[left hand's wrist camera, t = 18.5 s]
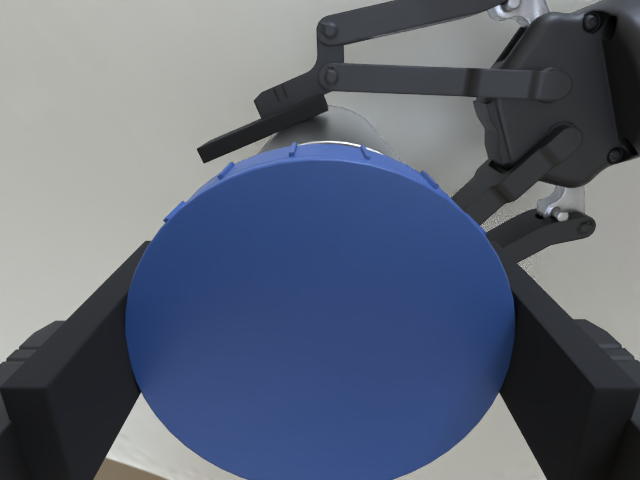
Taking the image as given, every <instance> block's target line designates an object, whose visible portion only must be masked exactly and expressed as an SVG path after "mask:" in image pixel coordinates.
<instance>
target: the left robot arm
mask: <svg viewBox="0 0 640 480" xmlns="http://www.w3.org/2000/svg"><path fill="white" fill-rule="evenodd" d="M150 242H151V241H145V242H144V243H143V244H142V245H141V246H140V247H139V248H138V249H137V250H136V251H135V252H134V253H133V254H132V255H131V256H130V257H129V258H128V259H127V260H126V261H125V262H124V263H123V264H122V265H121V266H120V267H119V268H118V269H117V270H116V271H115V272H114V273H113V274H112V275H111V276H110V277H109V278H108V279H107V280H106V281H105V282H104V283H103V284H102V285H101V286H100V287H99V288H98V289H97V290H96V291H95V292H94V293H93V294H92V295H91V296H90V297H89V298H88V299H87V300H86V301H85V302H84V303H83V304H82V305H81V306H80V307H79V308H78V309H77V310H76V311H75V312H74V313H73V314H72V315H71V316H70V317H69V318H68V319H67V320H66V321H54V322H53V323H51V324H49V325H47V326H45V327H44V328H42V329H40V330H38V331H37V332H35V333H33V334H32V335H31V336H30V337H29V338H28V339H27V340H26V341H25V342H24V343H23V344H22V345H21V346H20V347H19V350H15V351H14V352H13V353H12V354H11V355H10V356H9V357H8V358H7V360H6V362H2V363H1V364H0V480H93V479H94V477H95V475H96V473H97V472H98V470H99V468H100V466H101V464H102V462H103V461H104V459H105V457H106V455H107V453H108V452H109V450H110V448H111V446H112V444H113V442H114V441H115V439H116V437H117V435H118V433H119V431H120V430H121V428H122V426H123V424H124V422H125V421H126V419H127V417H128V415H129V413H130V411H131V410H132V408H133V406H134V404H135V402H136V400H137V399H138V397H139V395H140V393H141V390H140V388H139V386H138V384H137V382H136V380H135V377H134V374H133V371H132V368H131V363H130V358H129V353H128V347H127V342H126V336H125V311H126V304H127V298H128V292H129V288H130V285H131V282H132V279H133V276H134V273H135V270H136V268H137V266H138V264H139V262H140V260H141V258H142V256H143V254H144V252H145V250H146V248H147V247H148V245H149V244H150ZM489 242H490V244H491V245H492V247H493V249H494V250H495V252H496V253H497V255H498V257H499V259H500V261H501V264H502V266H503V268H504V270H505V273H506V275H507V277H508V281H509V285H510V289H511V292H512V296H513V300H514V311H515V321H516V324H515V338H514V344H513V350H512V355H511V360H510V365H509V369H508V372H507V374H506V377H505V380H504V382H503V385H502V387H501V389H500V391H499V393H500V395H501V396H502V398H503V400H504V402H505V404H506V405H507V407H508V409H509V411H510V413H511V415H512V416H513V418H514V420H515V422H516V424H517V426H518V427H519V429H520V431H521V433H522V435H523V436H524V438H525V440H526V442H527V444H528V446H529V447H530V449H531V451H532V453H533V455H534V457H535V458H536V460H537V462H538V464H539V466H540V467H541V469H542V471H543V473H544V475H545V477H546V478H547V480H640V362H639V361H638V360H635V359H634V356H633V355H632V354H630V353H629V352H628V351H627V350H626V349H625V348H622V345H621V344H620V343H619V342H618V341H616V340H615V339H614V338H613V337H612V336H611V335H610V334H609V333H608V332H607V331H605V330H603V329H601V328H600V327H598V326H596V325H594V324H592V323H591V322H589V321H587V320H585V319H572V318H571V317H570V316H569V315H568V314H567V313H566V312H565V311H564V310H563V309H562V308H561V307H560V306H559V305H558V304H557V303H556V302H555V301H554V300H553V299H552V298H551V297H550V296H549V295H548V294H547V293H546V292H545V291H544V290H543V289H542V288H541V287H540V286H539V285H538V284H537V283H536V282H535V281H534V280H533V279H532V278H531V277H530V276H529V275H528V274H527V273H526V272H525V271H524V270H523V269H522V268H521V267H520V266H519V265H518V264H517V263H516V262H515V261H514V260H513V259H512V258H511V257H510V256H509V255H508V254H507V253H506V252H505V251H504V250H503V249H502V248H501V247H500V246H499V245H498V244H497V243H496V242H495V241H489Z"/></svg>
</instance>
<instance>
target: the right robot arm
mask: <svg viewBox="0 0 640 480" xmlns="http://www.w3.org/2000/svg"><path fill="white" fill-rule="evenodd" d="M486 10H487V12H488V14H489V16H490V17H491V18H492V19H493V20H495V21H502V20H506V19H514V20H516V21H517V22H518V23H519V24H520V26H521V27H520V28H519V29H518V31H517V32H516V34H515V35H514V36H513V38H512V39H511V41H510V42H509V43H508V45H507V46H506V48H505V49H504V51H503V52H502V53H501V55H500V56H499V58H498V59H497V60H496V62H495V63H494V65H493V66H492V67H491V69H477V68H449V67H423V66H398V65H372V64H347V63H344V45H347V44H351V43H356V42H360V41H365V40H369V39H373V38H378V37H382V36H387V35H391V34H396V33H400V32H405V31H409V30H414V29H418V28H423V27H427V26H432V25H436V24H441V23H445V22H449V21H454V20H458V19H463V18H466V17H469V16H473V15H475V14H478V13H481V12H484V11H486ZM331 91H343V92H369V93H394V94H420V95H446V96H467V97H476V100H475V101H473V104H474V107H475V111H476V114H477V117H478V118H479V120H480V122H481V123H482V125H483V126H484V128H485V147H486V151H487V154H488V158H489V159H488V160H487V161H486V162H484V163H483V164H482V165H481V166H480V167H479V168H478V169H477V171H476V173H475V176H474V177H473V178H472V179H471V180H470V181H469V182H468V183H467V184H466V185H465V186H464V187H462V188H461V189H460V190H459V191H458V192H457V193H456V194H455V195H454V196H453V197H452V198H451V199H452V200H453V201H454V202H455V203H456V204H457V205H458V206H459V207H460V208H461V209H462V210H463V211H464V212H465V213H467V214H468V215H469V216H470V217H471V218H472V219H473V220H474V221H475V222H476V223H477V224H478V225H479V226H480V225H481V224H482V223H483V222H484V221H486V220H487V219H488V218H489V217H490V216H491V215H492V214H494V213H495V212H496V211H497V210H498V209H499V208H500V207H502V206H503V205H504V204H506V203H509V202H513V201H515V200H516V199H518V198H519V197H520V196H521V195H522V194H524V193H525V192H526V191H527V190H528V189H529V188H530V187H532V186H533V185H534V184H535V183H536V182H537V181H541V182H545V183H549V184H553V185H556V188H555V190H554V192H553V193H552V194H551V195H550V196H548V197H546V198H544V199H540V200H539V201H538V202H537V208H536V209H532V210H529V211H526V212H524V213H521V214H519V215H517V216H515V217H513V218H511V219H510V220H508V221H506V222H504V223H502V224H501V225H499V226H497V227H495V228H494V229H492V230H490V231H488V232H486V233H487V235H486V238H487V239H488V241H495V242H496V243H497V244H498V245H499V246H500V247H501V248H502V249H503V250H504V251H505V252H506V253H507V254H508V255H509V256H510V257H511V258H512V259H513V260H514V261H515V262H516V263H518V262H520V261H522V260H524V259H526V258H528V257H529V256H531V255H533V254H535V253H537V252H539V251H541V250H543V249H544V248H546V247H548V246H550V245H553V244H558V243H563V242H568V241H573V240H578V239H583V238H586V237H589V236H590V235H591V234H592V233H593V232H594V230H595V227H596V223H595V221H594V220H593V218H591V217H589V216H588V215H586V214H585V204H584V185H585V184H587V183H589V182H590V181H591V180H592V179H593V178H594V177H595V176H596V175H597V174H599V173H600V172H601V171H602V170H604V169H605V168H607V167H609V166H611V165H614V164H617V163H621V162H625V161H628V160H632V159H635V158H638V157H640V0H602V1H599V2H597V3H595V4H592V5H590V6H587V7H585V8H583V9H580V10H578V11H576V12H573V13H559V12H549V9H548V7H547V4H546V1H545V0H394V1H390V2H386V3H381V4H377V5H373V6H368V7H364V8H359V9H355V10H351V11H346V12H342V13H338V14H333V15H329V16H326V17H324V18H322V19H321V20H320V22H319V23H318V26H317V61H316V64H315V66H314V67H313V68H312V69H311V70H310V71H309V72H307V73H305V74H303V75H300V76H298V77H296V78H293V79H291V80H289V81H287V82H284V83H282V84H280V85H278V86H275V87H273V88H271V89H268V90H266V91H264V92H262V93H261V94H260V95H259V96H258V97H257V98H256V99H255V100H254V103H255V105H256V107H257V110H258V112H259V114H260V116H261V119H259V120H257V121H254V122H252V123H250V124H247V125H245V126H243V127H240V128H238V129H236V130H233V131H231V132H229V133H227V134H224V135H222V136H220V137H217V138H215V139H213V140H210V141H209V142H207V143H205V144H204V145H202V146H201V147H199V148H197V151H198V153H199V155H200V157H201V159H202V161H203V163H206V162H209V161H211V160H213V159H216V158H218V157H220V156H223V155H225V154H227V153H230V152H232V151H235V150H237V149H239V148H242V147H244V146H246V145H249V144H251V143H253V142H256V141H258V140H260V139H263V138H265V137H268V136H270V135H272V134H275V133H277V132H279V131H282V130H284V129H286V128H289V127H291V126H293V125H296V124H298V123H301V122H303V121H305V120H308V119H310V118H312V117H315V116H317V115H320V114H322V113H324V112H327V111H328V105H327V102H326V100H325V97H324V94H327V93H329V92H331Z"/></svg>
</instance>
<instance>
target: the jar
mask: <svg viewBox="0 0 640 480" xmlns="http://www.w3.org/2000/svg"><path fill="white" fill-rule="evenodd" d="M293 142H297V146H298V145H307V144H334V145H343V146H350V147H356V148H360V146H361V145H363V146H365V147H366V148H367V150H369V151H372V152H376V153H379V154H382V155H386V156H388V157H390V158H392V159H395V160H397V161H399V162H401V163H403V162H402V161H401V160H400V159H399V158H398V156H397V155H396V154H395V153H394V152H393V150H392V149H391V148H390V147H389V146H388V144H387V143H386V142H385V141H384V140H383V139H382V137H381V136H380V135H379V134H378V133H377V131H376V130H375V129H374V128H373V127H372V125H371V124H369V123H368V122H367V121H366V120H365V119H364V118H362V117H361V116H360V115H358V114H356V113H354V112H352V111H350V110H347V109H344V108H341V107H336V106H328V111H327V112H324V113H322V114H320V115H317V116H315V117H312V118H310V119H308V120H305V121H303V122H301V123H298V124H296V125H293V126H291V127H289V128H286V129H284V130H282V131H279V132H277V133H275V134H273V135H272V137H271V138H270V139H269V140H268V142H267V143H266V144H265V146H264V147H263V148H262V149H261V151H260V152H259V153H258V154H261V153H263V152H267V151H271V150H276V149H280V148H284V147H289V146H291V145H292V143H293Z"/></svg>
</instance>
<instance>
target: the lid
mask: <svg viewBox="0 0 640 480" xmlns="http://www.w3.org/2000/svg"><path fill="white" fill-rule="evenodd" d="M163 221H164V222H165V224H164V225H163V226H162V227H161V229H160V230H159V231H158V233H157V234H156V235H155V237H154V238H153V240H152V241H151V242H150V244H149V245H148V247H147V248H146V250H145V252H144V254H143V256H142V258H141V260H140V262H139V264H138V266H137V268H136V270H135V273H134V276H133V279H132V282H131V285H130V288H129V292H128V298H127V304H126V311H125V336H126V342H127V347H128V353H129V358H130V363H131V368H132V371H133V374H134V377H135V380H136V382H137V384H138V386H139V388H140V390H141V392H142V394H143V396H144V398H145V400H146V401H147V403H148V404H149V406H150V407H151V409H152V410H153V412H154V413H155V415H156V416H157V417H158V419H159V420H160V421H161V422H162V423H163V424H164V425H165V427H166V428H167V429H168V430H169V431H170V432H171V433H172V434H173V435H174V436H175V437H176V438H177V439H178V440H180V441H181V442H182V443H183V444H184V445H185V446H186V447H188V448H189V449H191V450H192V451H193V452H195V453H196V454H197V455H199V456H200V457H202V458H203V459H205V460H207V461H208V462H210V463H212V464H214V465H216V466H217V467H219V468H221V469H223V470H225V471H228V472H230V473H232V474H234V475H237V476H239V477H241V478H244V479H248V480H393V479H396V478H398V477H401V476H403V475H406V474H409V473H411V472H413V471H415V470H417V469H419V468H421V467H423V466H425V465H427V464H429V463H431V462H432V461H434V460H435V459H437V458H438V457H440V456H441V455H443V454H444V453H446V452H447V451H449V450H450V449H451V448H452V447H454V446H455V445H456V444H457V443H458V442H460V441H461V440H462V439H463V438H464V437H465V436H466V435H467V434H468V433H469V432H470V431H471V430H472V429H473V428H474V427H475V426H476V425H477V424H478V423H479V422H480V420H481V419H482V418H483V416H484V415H485V413H486V412H487V411H488V409H489V408H490V407H491V405H492V404H493V402H494V400H495V398H496V396H497V395H498V393H499V391H500V389H501V387H502V385H503V382H504V380H505V377H506V374H507V372H508V369H509V365H510V360H511V355H512V350H513V344H514V338H515V324H516V321H515V311H514V300H513V296H512V292H511V289H510V285H509V281H508V277H507V275H506V273H505V270H504V268H503V266H502V264H501V261H500V259H499V257H498V255H497V253H496V252H495V250H494V249H493V247H492V245H491V244H490V242H489V241H488V239H487V238H486V235H487V233H486V232H485V231H484V230H483V229H482V228H481V227H480V226H479V225H478V224H477V223H476V222H475V221H474V220H473V219H472V218H471V217H470V216H469V215H468V214H467V213H465V212H464V211H463V210H462V209H461V208H460V207H459V206H458V205H457V204H456V203H455V202H454V201H453V200H452V199H451V198H450V197H449V196H448V195H447V194H446V193H445V192H444V191H443V190H441V189H440V188H439V185H438V184H437V183H436V182H435V181H434V180H433V179H432V178H431V177H430V176H429V175H428V174H427V173H426V172H424V171H423V170H422V172H421V173H419V172H417V171H416V170H414V169H413V168H411V167H409V166H408V165H406V164H403V163H401V162H399V161H397V160H395V159H392V158H390V157H388V156H386V155H382V154H379V153H376V152H372V151H369V150H367V148H366V147H365V146H363V145H361V146H360V148H356V147H350V146H343V145H334V144H307V145H298V146H297V142H293V143H292V145H291V146H289V147H284V148H280V149H276V150H271V151H267V152H263V153H261V154H258V155H255V156H253V157H250V158H248V159H245V160H243V161H240V162H238V163H237V164H235V165H234V164H233V162H231V163H229V164H228V165H227V166H226V167H225V168H224V169H223V170H222V171H221V173H219V174H218V175H216V176H215V177H214V178H212V179H211V180H210V181H208V182H207V183H206V184H205V185H203V186H202V187H201V188H200V189H199V190H198V191H197V192H196V193H195V194H194V195H193V196H192V197H191V198H190V199H189V200H188V201H187V202H186V203H185V202H184V201H182V202H181V203H180V204H179V205H178V206H177V207H176V208H175V209H174V210H173V211H172V212H171V213H170V214H169V215H168V216H167V217H166V218H165V219H164V220H163Z"/></svg>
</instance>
